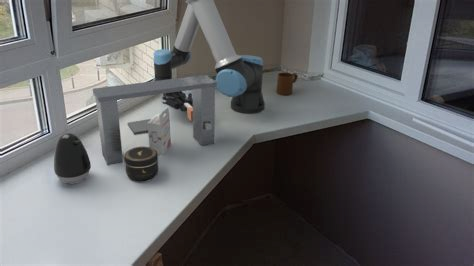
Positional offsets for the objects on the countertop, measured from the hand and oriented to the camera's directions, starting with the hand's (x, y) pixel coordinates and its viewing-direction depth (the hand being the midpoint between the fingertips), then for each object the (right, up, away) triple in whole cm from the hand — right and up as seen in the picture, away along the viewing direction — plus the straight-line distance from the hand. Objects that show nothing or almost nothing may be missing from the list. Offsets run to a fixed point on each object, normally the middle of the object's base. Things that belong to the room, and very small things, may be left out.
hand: (192, 111), depth 156 cm
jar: (-13, -21, -27) cm, 36 cm away
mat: (-19, -6, +5) cm, 21 cm away
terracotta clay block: (+4, -5, -6) cm, 8 cm away
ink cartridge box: (-10, -14, -11) cm, 20 cm away
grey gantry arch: (-10, -14, -11) cm, 20 cm away
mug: (+42, +12, +48) cm, 65 cm away
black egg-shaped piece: (-32, -22, -31) cm, 50 cm away
